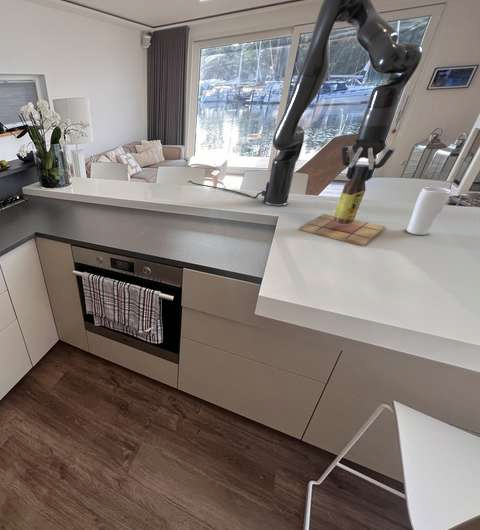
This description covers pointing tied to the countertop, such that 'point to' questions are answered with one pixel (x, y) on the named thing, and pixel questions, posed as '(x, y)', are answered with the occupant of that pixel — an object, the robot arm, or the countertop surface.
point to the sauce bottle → (351, 196)
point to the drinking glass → (427, 209)
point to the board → (343, 229)
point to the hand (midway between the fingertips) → (357, 179)
